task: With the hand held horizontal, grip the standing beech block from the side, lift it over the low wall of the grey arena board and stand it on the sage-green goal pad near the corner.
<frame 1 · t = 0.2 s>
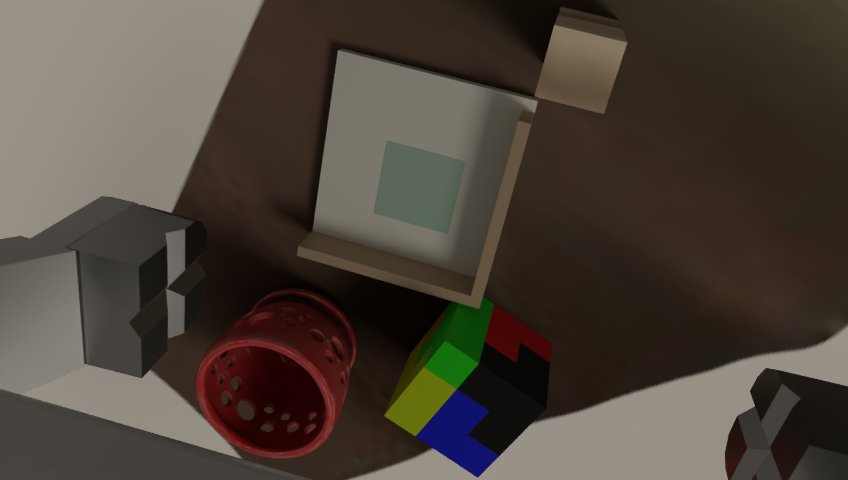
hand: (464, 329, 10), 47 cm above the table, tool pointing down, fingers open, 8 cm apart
plant pot: (311, 331, 70), on the table
arena: (417, 172, 60), on the table
beech block: (581, 42, 53), on the table
puzzle toy: (479, 346, 66), on the table
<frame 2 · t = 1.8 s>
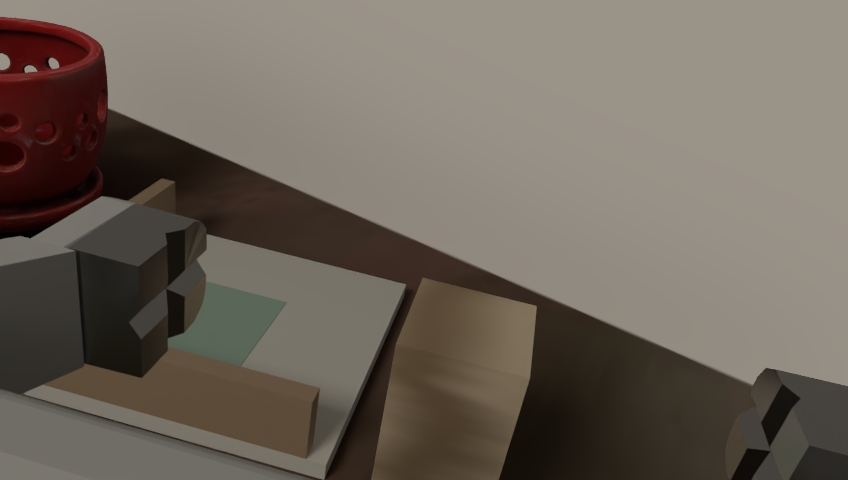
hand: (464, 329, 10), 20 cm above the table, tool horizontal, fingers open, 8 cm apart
plant pot: (14, 208, 49), on the table
arena: (226, 332, 40), on the table
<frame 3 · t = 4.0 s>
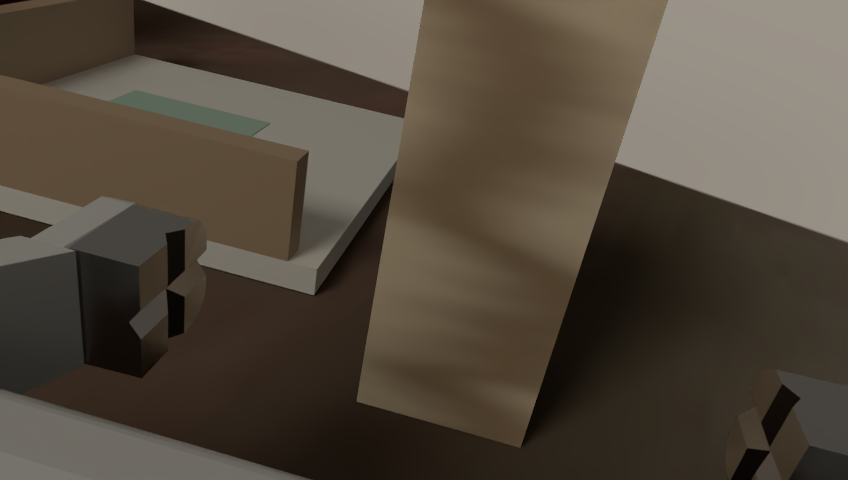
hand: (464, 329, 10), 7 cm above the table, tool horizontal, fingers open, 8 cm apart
arena: (189, 150, 31), on the table
beech block: (451, 373, 20), on the table
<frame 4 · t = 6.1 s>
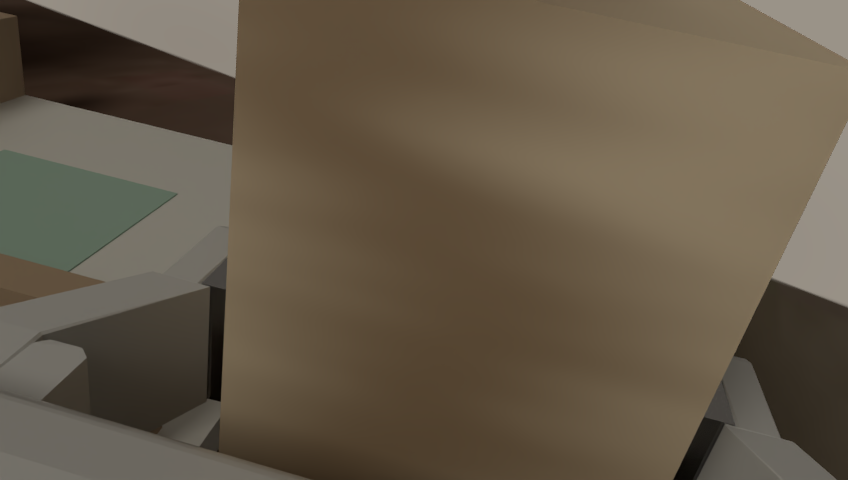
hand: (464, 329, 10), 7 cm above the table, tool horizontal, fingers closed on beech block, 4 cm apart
arena: (62, 236, 23), on the table
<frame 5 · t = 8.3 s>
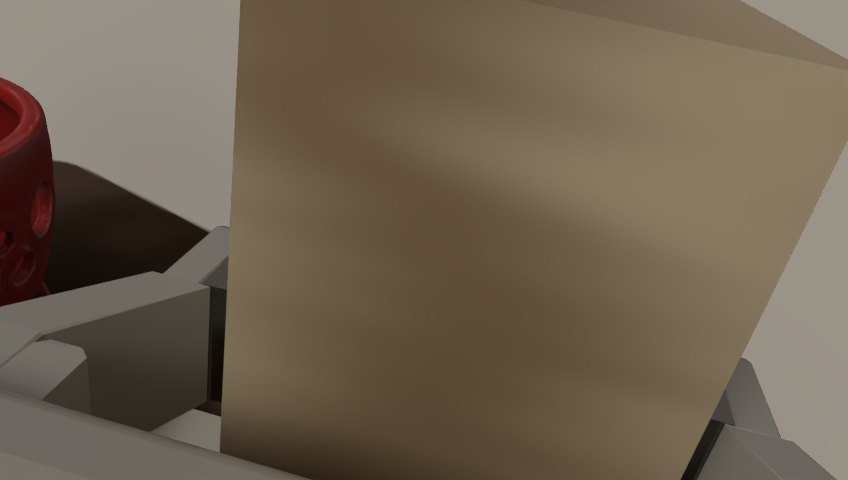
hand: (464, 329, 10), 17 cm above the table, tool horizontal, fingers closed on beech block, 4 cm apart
when the fingers open (9 cm above the table, at t = 10.6 s): beech block drops 1 cm, resting on arena.
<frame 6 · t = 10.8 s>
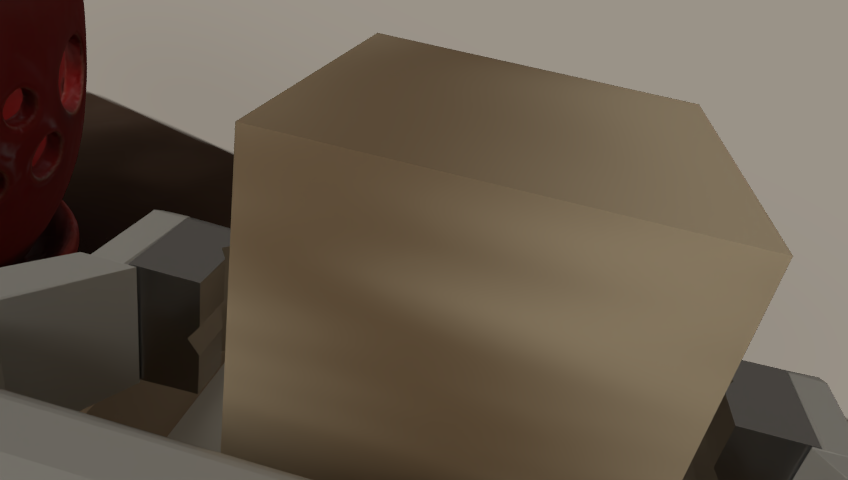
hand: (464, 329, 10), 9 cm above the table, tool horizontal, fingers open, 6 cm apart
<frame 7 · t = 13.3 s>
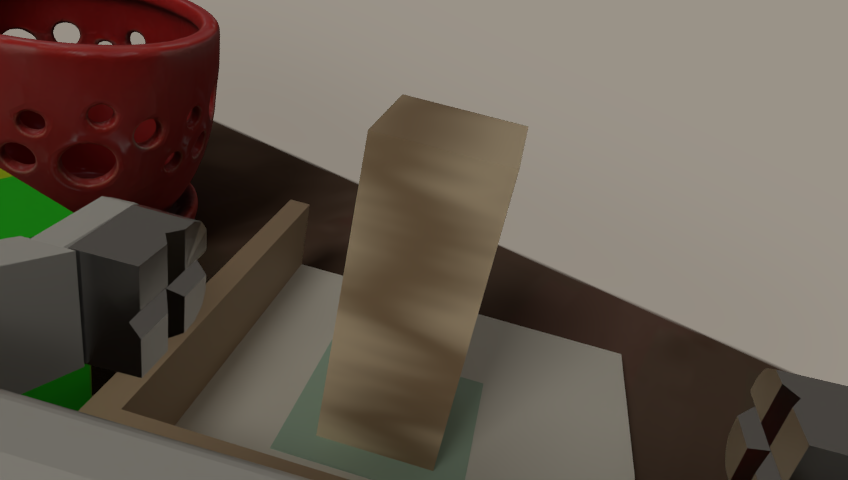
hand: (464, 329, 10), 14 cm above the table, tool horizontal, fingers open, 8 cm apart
plant pot: (80, 232, 36), on the table
arena: (409, 430, 28), on the table
beech block: (388, 413, 27), point 1 cm above the table, touching arena
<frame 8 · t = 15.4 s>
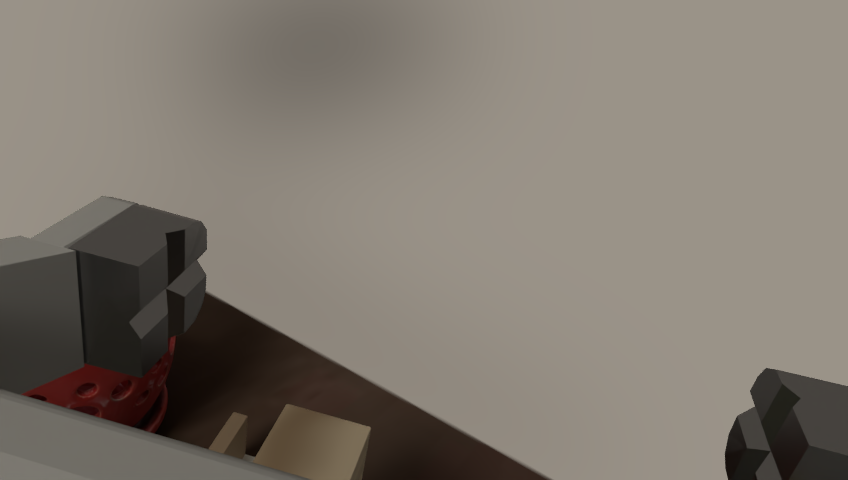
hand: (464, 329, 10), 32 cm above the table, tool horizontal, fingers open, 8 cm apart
plant pot: (78, 430, 48), on the table
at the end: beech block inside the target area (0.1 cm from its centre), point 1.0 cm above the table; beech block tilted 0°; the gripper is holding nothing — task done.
